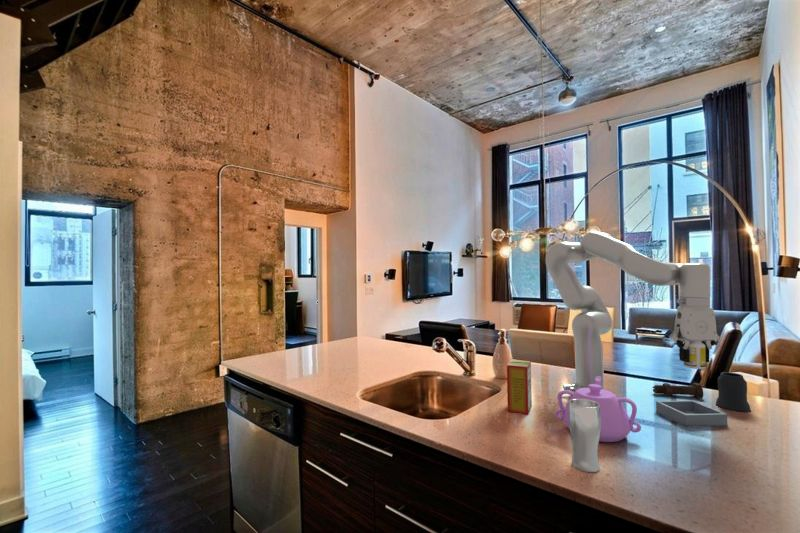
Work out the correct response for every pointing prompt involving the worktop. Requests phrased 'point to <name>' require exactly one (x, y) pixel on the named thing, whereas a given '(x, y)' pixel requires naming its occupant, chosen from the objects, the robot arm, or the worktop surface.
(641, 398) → the worktop surface
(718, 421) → the tray
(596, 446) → the beer glass
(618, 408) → the purple lidded sugar bowl
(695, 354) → the supplement bottle
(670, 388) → the bolt
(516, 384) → the baking soda box
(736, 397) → the mug
